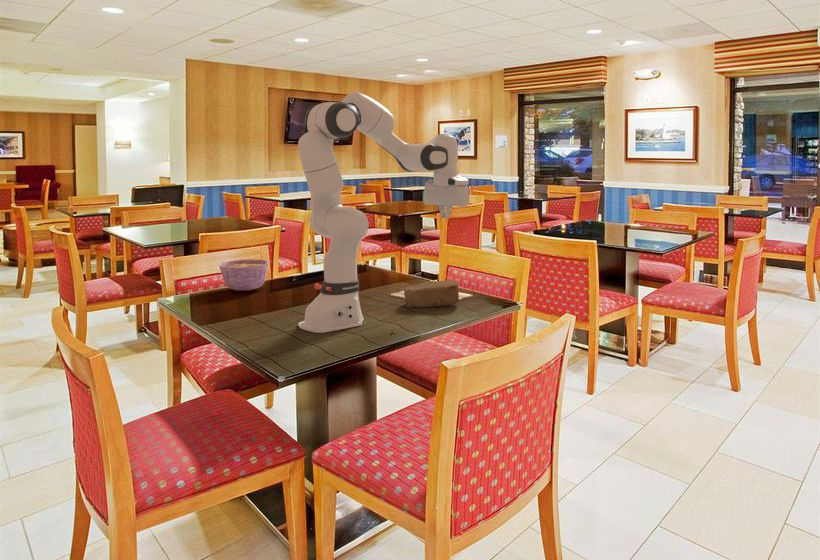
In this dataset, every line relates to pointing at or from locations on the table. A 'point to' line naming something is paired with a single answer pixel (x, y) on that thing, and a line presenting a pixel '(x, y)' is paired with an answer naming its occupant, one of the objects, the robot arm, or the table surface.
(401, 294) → the board
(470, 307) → the table surface
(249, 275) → the bowl of food
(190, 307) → the table surface
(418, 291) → the block
